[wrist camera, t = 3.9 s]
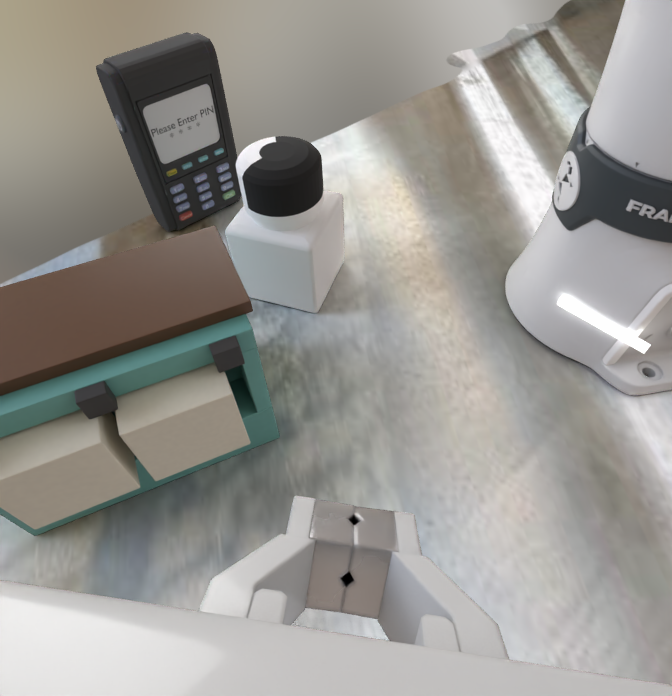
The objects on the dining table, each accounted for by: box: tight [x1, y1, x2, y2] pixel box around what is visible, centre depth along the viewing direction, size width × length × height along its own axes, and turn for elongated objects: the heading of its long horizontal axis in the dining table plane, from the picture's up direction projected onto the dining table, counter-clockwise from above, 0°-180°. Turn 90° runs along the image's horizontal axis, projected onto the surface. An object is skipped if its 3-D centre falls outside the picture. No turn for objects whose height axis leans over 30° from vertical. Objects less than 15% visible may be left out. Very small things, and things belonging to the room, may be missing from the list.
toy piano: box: [0, 225, 280, 536], centre depth 30 cm, size 10×17×12 cm, turn 114°
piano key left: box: [0, 409, 140, 529], centre depth 26 cm, size 4×6×5 cm, turn 114°
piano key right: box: [115, 362, 250, 481], centre depth 27 cm, size 4×6×5 cm, turn 114°
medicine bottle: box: [225, 136, 345, 313], centre depth 39 cm, size 7×7×12 cm
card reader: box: [96, 33, 242, 232], centre depth 44 cm, size 9×4×15 cm, turn 131°
